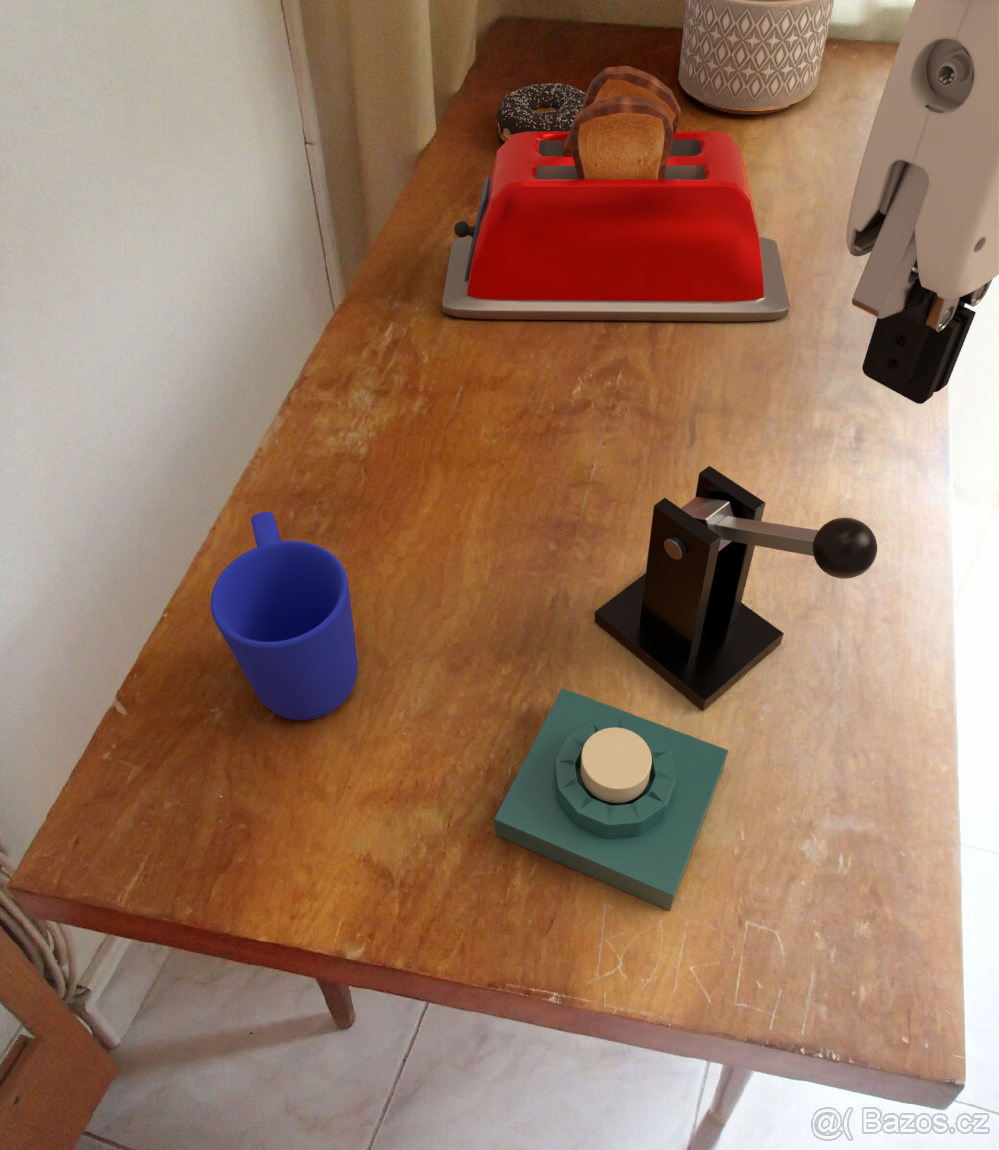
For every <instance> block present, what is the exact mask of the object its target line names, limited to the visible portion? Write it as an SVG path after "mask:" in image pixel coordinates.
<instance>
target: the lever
mask: <svg viewBox="0 0 999 1150" xmlns="http://www.w3.org/2000/svg"><path fill="white" fill-rule="evenodd" d="M680 508H681V509H682V510H683V511H685V512H686V513H688V514H689V515H691V516H692V517H693V518H695V519H696V520H698V521H699V522H701V523H702V524H703V525H705V526H706V527H708V528H709V529H711V530H712V531H713V532H715V533H716V534H718V535H719V536H721V541H720V546H719V551H720V550H721V549H722V548H724V547H725V546H726V545H728V544H729V543H730V542H731V541H734V542H739V543H744V544H750V545H755V547H762V548H768V549H772V550H777V551H782V552H788V553H789V552H790V553H795V554H799V555H805V556H810V557H813V558H814V561H815V563H816V565H817V566H818V567H819V569H820V570H821V571H822V572H824V573H825V574H827V575H829V576H830V577H832V578H837V579H840V580H841V579H843V580H846V579H847V580H848V579H853V578H857V577H859V576H861V575H863V574H864V573H866V572H867V571H868V570H869V569H870V568H871V566H873V564H874V562H875V560H876V557H877V553H878V542H877V539H876V536H875V533H874V532H873V531H872V529H871V528H870V527H869V526H868V525H867V524H866V523H864V522H863V521H861V520H859V519H857V518H852V517H838V518H834V519H831V520H829V521H827V522H826V523H824V524H823V525H822V526H821V527H820V528H819V529H812V528H804V527H800V526H793V525H786V524H781V523H774V522H767V521H762V520H761V521H755V520H749V519H743V518H736V517H734V515H733V511H732V508H731V505H730V502H729V501H723V500H716V499H709V498H701V497H695V496H694V498H692V499H691V500H690V501H689V502H687V503H685V504H684V505H683V506H681V507H680ZM719 551H718V552H719Z"/></svg>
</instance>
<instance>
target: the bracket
mask: <svg viewBox="0 0 999 1150" xmlns="http://www.w3.org/2000/svg"><path fill="white" fill-rule="evenodd" d="M695 497H701V498H709V499H716V500H723V501H729V502H730V505H731V508H732V511H733V515H734V517H736V518H743V519H749V520H755V521H762V520H763V517H764V511H765V507H766V502H765V501H764V500H762V499H761V498H759V497H758V496H756V495H755V494H754V493H752V492H750V491H748V490H747V489H746V488H744V486H741V485H740V484H738V483H737V482H735V481H734V480H732V479H731V478H729V477H727V476H726V475H724V474H723V473H722V472H720V471H718V470H717V469H716V468H714V467H712V466H711V465H708V466H706V467H705V468H704V469H703V470H702V471H700V472H699V473H698V478H697V484H696V489H695V495H694V498H695ZM681 508H682V507H679V506H678V505H676V504H675V503H673V502H672V501H671V500H670V499H668V498H666V497H664V498H662V499H661V500H659V501H658V502H656V503H655V504H654V505H653V509H652V516H651V517H652V519H651V527H650V534H649V542H648V551H647V559H646V568H645V573H644V574H642V575H641V576H639V577H638V578H637V579H636V580H634V581H633V582H631V583H630V584H629V585H628V586H627V587H625V588H624V589H623V590H621V591H620V592H619V593H617V594H616V595H615V596H613V597H612V598H611V599H609V600H608V601H607V602H605V603H604V604H603V605H601V606H600V607H599V608H597V609H596V610H594V619H593V622H594V623H595V624H597V626H599V628H600V629H602V630H603V631H604V632H606V633H607V634H608V635H610V636H611V637H612V638H613V639H614V640H616V641H617V642H618V643H619V644H620V645H622V646H623V647H624V648H625V649H626V650H628V651H629V653H631V654H633V655H634V656H635V657H636V658H638V659H639V660H640V661H641V662H642V663H643V664H644V665H646V666H647V667H648V668H649V669H650V670H652V671H653V672H654V673H656V674H657V675H658V676H659V677H660V678H661V679H663V680H664V681H665V682H666V683H668V684H669V685H670V686H671V687H672V688H674V689H675V690H676V691H677V692H678V693H679V694H681V695H682V696H684V697H685V698H686V699H687V700H688V701H689V702H691V704H693V705H694V706H695V707H697V708H698V709H699V710H700V711H701V712H704V711H705V710H706V709H707V708H709V707H710V706H711V705H712V704H713V703H714V702H716V701H717V700H718V699H719V698H720V697H721V696H723V695H724V694H725V693H726V692H727V691H728V690H730V689H731V688H732V687H733V686H734V685H736V683H738V682H739V681H740V680H741V679H742V678H744V676H746V674H748V673H749V672H750V671H752V670H753V669H754V668H755V667H756V666H757V665H758V664H759V663H760V662H762V661H763V660H764V659H765V658H766V657H768V656H769V655H770V654H771V653H772V652H773V651H775V649H777V648H778V647H779V646H780V645H781V644H782V641H783V638H784V635H785V634H784V632H782V631H781V630H780V629H779V628H777V627H776V626H775V625H773V624H771V623H770V622H769V621H768V620H766V619H765V618H763V617H762V616H761V615H760V614H758V613H757V612H756V611H754V610H752V609H751V608H750V607H749V606H748V605H746V604H744V603H743V602H742V601H743V597H744V593H745V589H746V585H747V581H748V577H749V572H750V569H751V565H752V561H753V556H754V552H755V549H756V546H755V545H750V544H744V543H739V542H734V541H731V542H730V543H729V544H728V545H726V546H725V547H724V548H722V549H721V550H720V551H719V546H720V541H721V536H719V535H718V534H716V533H715V532H713V531H712V530H711V529H709V528H708V527H706V526H705V525H703V524H702V523H701V522H699V521H698V520H696V519H695V518H693V517H692V516H691V515H689V514H688V513H686V512H685V511H683V510H682V509H681ZM718 551H719V552H718Z"/></svg>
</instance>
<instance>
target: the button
mask: <svg viewBox="0 0 999 1150" xmlns="http://www.w3.org/2000/svg"><path fill="white" fill-rule="evenodd" d="M651 764H652V757H651V752H650V749H649V747H648V746H647V744H646V743H645V741H644V740H643V739H642V738H641V737H640V736H639V735H637V734H636V733H634V732H632V731H630V730H627V729H624V728H616V727H614V728H606V729H602V730H600V731H598V732H596V733H594V734H593V735H592V736H591V737H590V738H588V740H587V741H586V743H585V744H584V746H583V749H582V754H581V778H582V781H583V783H584V785H585V787H586V788H587V789H588V790H589V792H590V793H592V794H593V795H594V796H595V797H597V798H599V799H601V800H603V801H606V802H611V803H623V802H627V801H630V800H632V799H634V798H636V797H638V796H639V795H640V794H641V793H642V792H643V791H644V790H645V788H646V786H647V784H648V781H649V776H650V770H651Z"/></svg>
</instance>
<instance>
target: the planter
mask: <svg viewBox="0 0 999 1150" xmlns="http://www.w3.org/2000/svg"><path fill="white" fill-rule="evenodd" d="M834 4H835V0H686V1H685V8H684V9H685V10H684V18H683V30H682V38H681V39H682V40H681V48H680V59H679V68H678V77H677V78H678V82H679V83H678V84H679V85H680V87H681V89H683V90H684V92H685V93H687V94H688V95H689V96H691V97H692V98H693V99H696V100H697V101H698V102H699V103H701V104H703V106H706V107H708V108H709V109H713V110H716V111H719V112H723V113H729V114H733V115H746V116H747V115H749V116H752V115H766V114H771V113H776V112H780V111H783V110H785V109H787V108H789V107H790V106H787V107H784V108H779V109H773V110H764V111H742V110H733V109H726V108H721V106H722V107H729V108H739V109H740V108H744V109H745V108H748V109H750V108H753V109H754V108H760V107H767V106H768V107H769V106H776V105H781V104H785V103H788V102H792V101H794V100H797V99H799V98H801V97H803V96H805V95H806V94H808V93H810V92H812V91H813V90H814V89H815V87H816V88H817V86H816V85H818V82H819V81H818V80H819V76H820V72H821V67H822V61H823V57H824V53H825V46H826V42H827V38H828V33H829V28H830V23H831V18H832V14H833V9H834ZM815 90H816V89H815ZM815 90H814V91H815ZM704 102H705V103H704ZM713 105H714V106H713ZM717 106H720V107H717Z"/></svg>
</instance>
